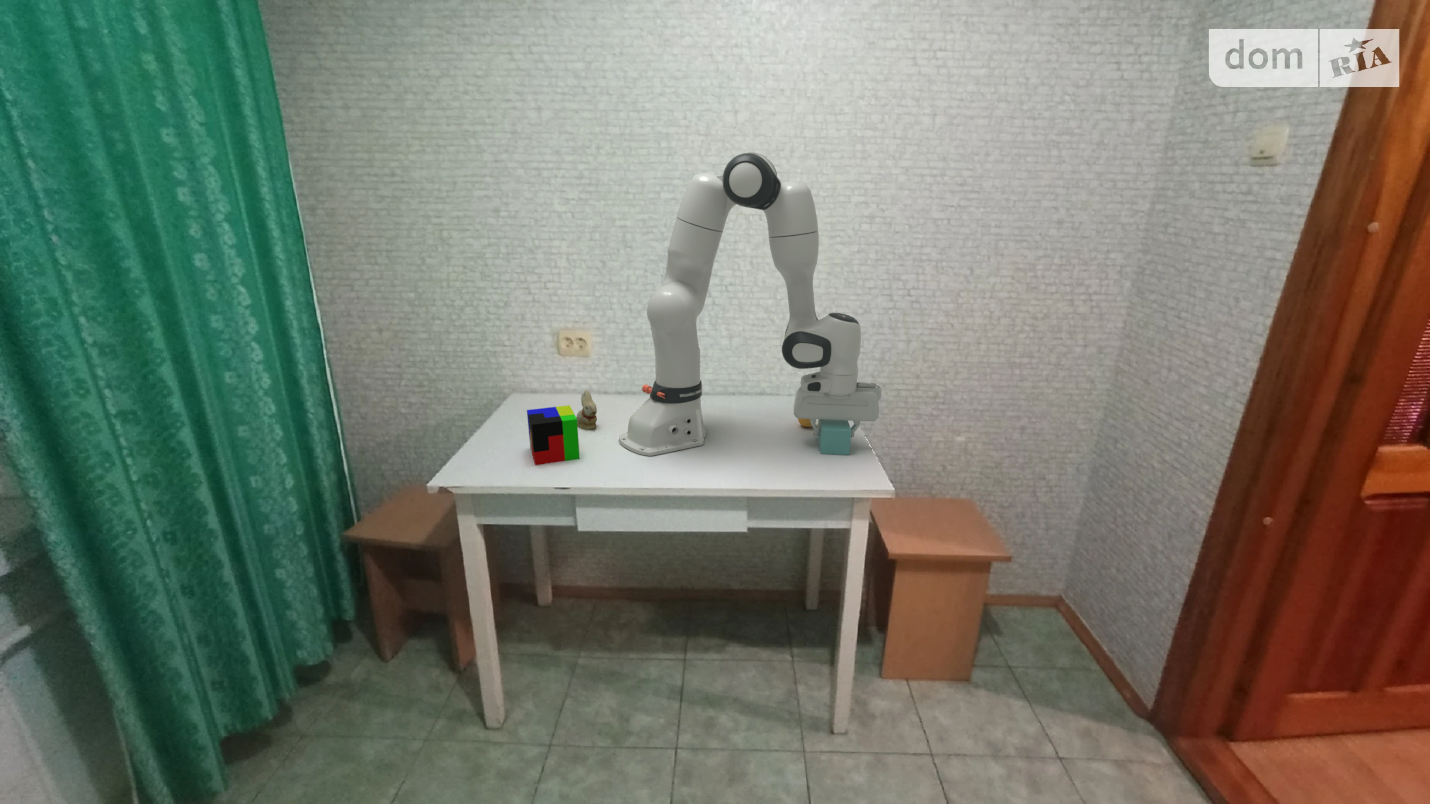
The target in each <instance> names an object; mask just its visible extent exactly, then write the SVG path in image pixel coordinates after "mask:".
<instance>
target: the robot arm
mask: <svg viewBox="0 0 1430 804" xmlns="http://www.w3.org/2000/svg"><path fill="white" fill-rule="evenodd" d="M736 205H738V206H739V207H744V208H749V209H756V210H759V211H760V210H761V211H763V213H764V214H765V217H766V223H767V231H768V241H769V249H770V254H771V258H772V262H773V264H774V267H775V268H776V270H777V271H778V272H779V274H780V275H781V276H782V278H783V280H784V283H785V285H786V286H785V287H786V291H787V301H788V311H789V317H788V318H789V319H788V320H789V321H788V324H787V326H786V329H785V332H784V338H783V342H782V345H781V354H782V357H783V359H784V361H785V362H786V363H787V364H788V365H789V366H790V367H792V368H795V369H799V370H805V369H817V368H819V371H817V372H813V373H808V374H805V375H803V376H801V378H800V386H799V388H797V390H796V393H795V397H794V403H793V415H794V417H795V418H796V419H798V418H799V419H810V423H811V425H812V426H811V427H812V428H813V436H814V437H815V436H816V437H817V436H820V427H818V426H817V425H816V423H817V420H819V419H823V420H848V422H849V421H851V422H852V423H853V425H852V426H850V428H851V438H854V437H855V433H856V431H857V430H858V428H859V427H860V426H861V422H876V421H877V420H878V419H879V413H880V411H879V410H880V409H879V407H880V405H879V400H881V398H882V392H883V391H882V387H880V386H879V385H877V384H876V383H875V382H870V383H867V382H858V377H859V368H858V367H859V366H858V360H859V357H860V354H861V341H862V333H861V332H862V328H861V325H860V323H859V321H858V319H856V318H855V317H854V316H850V315H849V314H845V313H842V312H830V313H828V314H827V315H826V316H824V317H822V318H820V319H818V316H817V314H816V306H815V295H814V274H815V270H816V266H817V263H818V259H819V258H818V257H819V249H820V248H819V246H820V245H819V243H820V240H819V238H820V237H819V226H818V217H817V210H816V206H815V202H814V198H813V194H812V191H811V189H810V187H809V186H808V185H807V184H806V183H803V182H801V181H796V180H789V181H785V180H782V179H780V178H779V177H778V172H777V169H776V167H775V165H774V164H773V163H772V161H771V160H770V159H769V158H768V157H767V156H764V155H763V154H761V153H758V152H753V151H752V152H751V151H750V152H746V153H740V154H737V155H736V156H734V157H733V158H731V159H730V160H729V161H728V162H727V164H726V166H725V168H724V170H723V173H722V174H717V173H712V172H700V173H697V174H695V175H693V177H692V178H690V181H689V183H688V184H687V187H686V189H685V191H684V193H683V196H682V198H681V200H680V204H679V206H678V207H679V208H678V210H677V213H676V216H675V222H674V223H673V224H674V225H673V228H672V232H671V237H670V239H669V245H668V248H667V258H666V259H667V261H666V268H665V269H666V270H665V275H664V278H663V279H664V280H663V283H662V285H661V286H659V288H657V289H656V290H654V292H653V293H652V294H651V296H650V298H649V301H648V303H647V307H646V315H647V319H648V322H649V324H650V325H649V326H650V330H651V336H652V341H653V348H654V362H655V365H654V367H655V381H654V382H653V385H652V386H650V385H648V384H647V383H646V384H643V385H642V386H641V391H642V393H645V394H647V395H649V398H648V399H647V400H646V401H644V403H643V404H642V405H641V406H640V407H639V408H637V410H636V411H635V412H634V413H632V415H630V418H629V420H628V425H627V432H625V433H622V434H620V435H619V436H618V442H619V444H620V445H621V446H623V448H625V449H627V450H629V451H630V452H633V453H636V454H638V455H642V456H647V457H648V456H649V457H652V456H656V455H657V456H658V455H662V454H665V453H666V454H667V453H671V452H675V451H676V452H677V451H681V450H686V449H689V448H696V447H700V446H703V445H704V444H705V438H706V436H707V430H706V427H705V424H704V418H703V413H702V412H703V411H702V403H701V401H702V400H701V397H702V396H703V382H702V379H701V349H700V346H699V340H698V339H699V338H698V330H697V320H698V319H697V318H698V317H699V315H700V314H701V313H702V311H703V309H704V306H705V303H706V299H707V295H708V290H709V287H710V283H711V278H712V273H713V268H714V263H715V260H716V256H717V253H718V250H719V246H720V243H721V239H722V235H723V233H724V229H725V226H726V225H725V224H726V222H727V219H728V216H729V214H730V211H731V210H732V209H733V207H734V206H736ZM816 419H817V420H816Z"/></svg>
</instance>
